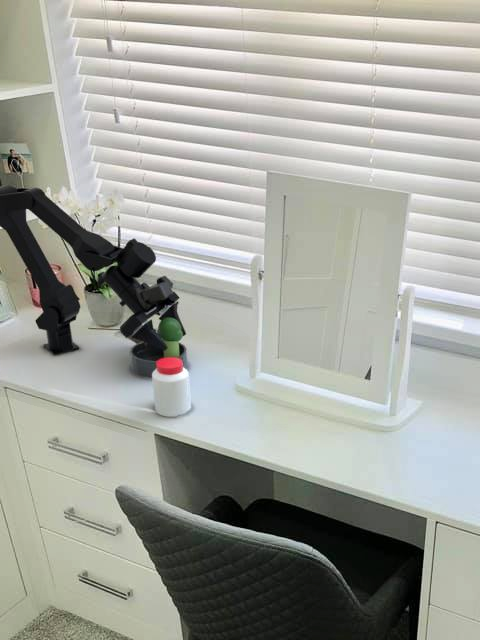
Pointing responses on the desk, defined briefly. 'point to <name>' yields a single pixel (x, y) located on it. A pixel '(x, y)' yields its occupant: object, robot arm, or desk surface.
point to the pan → (151, 358)
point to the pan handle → (137, 340)
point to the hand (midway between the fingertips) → (175, 342)
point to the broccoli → (170, 336)
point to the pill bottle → (171, 387)
